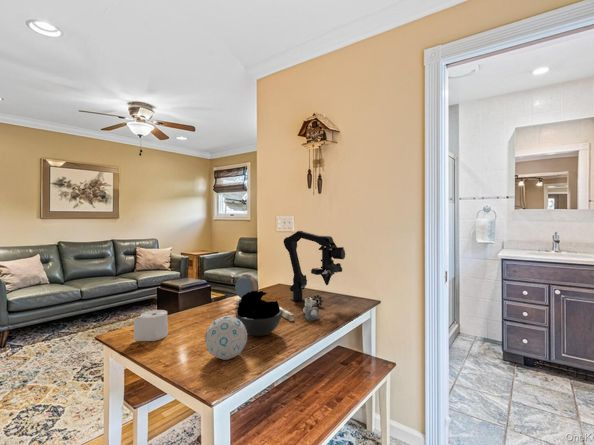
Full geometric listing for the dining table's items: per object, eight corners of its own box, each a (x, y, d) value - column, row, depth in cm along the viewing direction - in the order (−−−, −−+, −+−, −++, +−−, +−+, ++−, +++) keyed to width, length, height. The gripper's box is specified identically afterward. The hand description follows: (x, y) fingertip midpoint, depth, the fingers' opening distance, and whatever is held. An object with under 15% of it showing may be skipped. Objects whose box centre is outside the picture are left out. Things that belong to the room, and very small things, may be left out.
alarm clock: (261, 303, 180) (261, 273, 179) (250, 308, 171) (250, 276, 171) (243, 300, 187) (243, 271, 187) (232, 304, 179) (231, 274, 178)
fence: (273, 311, 165) (273, 305, 165) (276, 310, 166) (276, 305, 166) (290, 321, 150) (290, 315, 150) (293, 320, 151) (293, 314, 151)
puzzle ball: (196, 360, 110) (196, 319, 109) (226, 345, 123) (226, 308, 122) (227, 371, 102) (226, 327, 101) (255, 354, 115) (255, 314, 114)
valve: (311, 312, 163) (323, 307, 173) (311, 300, 163) (323, 295, 172) (301, 310, 167) (313, 305, 177) (301, 298, 167) (313, 293, 176)
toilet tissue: (172, 332, 136) (172, 310, 136) (155, 343, 124) (154, 319, 124) (151, 330, 138) (151, 309, 138) (132, 341, 126) (132, 318, 126)
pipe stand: (301, 317, 155) (301, 306, 155) (310, 315, 158) (310, 304, 158) (309, 321, 149) (309, 310, 148) (319, 319, 152) (319, 308, 152)
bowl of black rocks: (257, 323, 147) (257, 284, 147) (291, 332, 136) (290, 290, 135) (226, 336, 131) (225, 293, 130) (260, 348, 119) (260, 301, 119)
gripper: (322, 261, 163) (322, 290, 163) (348, 258, 173) (348, 285, 173) (310, 258, 172) (310, 286, 173) (336, 256, 182) (336, 282, 183)
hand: (326, 285), depth 175 cm, fingers closed
